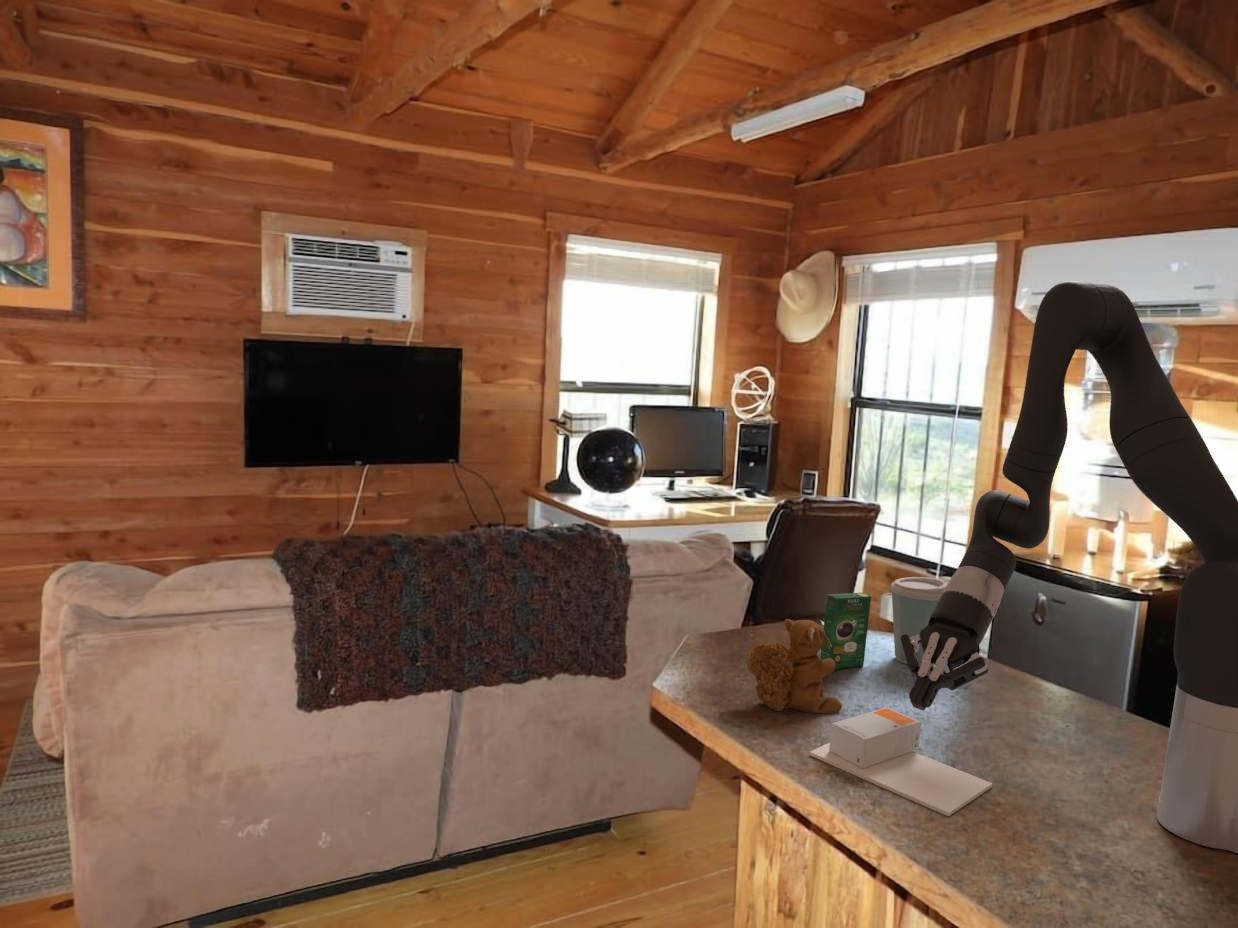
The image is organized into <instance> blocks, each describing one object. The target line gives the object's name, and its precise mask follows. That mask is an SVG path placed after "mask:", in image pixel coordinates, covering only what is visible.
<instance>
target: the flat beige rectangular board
mask: <svg viewBox="0 0 1238 928" xmlns="http://www.w3.org/2000/svg"><path fill="white" fill-rule="evenodd" d="M829 746H830V742H827V743H825V744H823V745H821V746H819V747H817V748H815V749H812V750H811V751H809V756H810V757H813V758H814V759H818V760H820V761H822V762H824V763H827V764H828V765H830V766H834V767H835V768H838V769H839V770H842V771H845V772H847V773H848V774H851V775H854V776H855V777H858V778H860V779H863V780H864V781H867V782H869V783H872V784H874V785H876V786H878V787H880V788H883V789H886V790H888V791H889V792H892V793H894V794H896V795H899V796H901V797H903V798H906V799H908V800H910V801H912V802H915V803H917V804H919V805H922V806H923V807H926V808H928V809H930V810H932V811H935V812H936V813H940V814H942V815H944V816H946V817H950V816H951V815H953V814H955V813H956V812H957V811H959V810H961V809H962V808H963V807H965V806H966V805H968V804H969V803H971V802H972V801H974V800H975V799H977V798H978V797H980V796H981V795H983V794H984V793H986V792H987V791H989V790H990V789H992V788H993V783H992V782H990V781H987V780H985V779H983V778H980V777H979V776H975V775H973V774H970V773H967V772H965V771H962V770H959V769H957V768H954V767H953V766H949V765H947V764H946V763H942V762H940V761H938V760H935V759H933V758H930V757H927V756H926V755H923V754H921V753H917V752H915V751H913V752H910V753H907V754H904V755H901V756H898V757H895V758H892V759H889V760H886V761H884V762H881V763H878V764H875V765H872V766H869V767H866V768H861V767H859V766H857V765H855V764H853V763H851V762H849V761H846V760H844V759H843V758H841V757H840V756H838V755H836V754H834V753H832V752H830V751H829Z"/></svg>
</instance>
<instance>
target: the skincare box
mask: <svg viewBox="0 0 1238 928" xmlns="http://www.w3.org/2000/svg"><path fill="white" fill-rule="evenodd" d="M921 727H922V722H921V721H919V720H918V719H915V718H912V717H911V716H908V715H906V714H903V713H901V712H898V711H897V710H895V709H893V708H890V707H888V706H887V707H884V708H880V709H876V710H873V711H870V712H866V713H862V714H858V715H856V716H852V717H848V718H846V719H842V720H839V721H836V722H835V721H834V722H832V723H831V728H830V737H829V738H830V739H829V743H830V746H829V751H830V752H832V753H834V754H836V755H838V756H840V757H841V758H843V759H844V760H846V761H849V762H851V763H853V764H855V765H857V766H859V767H861V768H866V767H869V766H872V765H875V764H878V763H881V762H884V761H886V760H889V759H892V758H895V757H898V756H901V755H904V754H907V753H910V752H915V751H919V750H920V749H919V747H920V740H921V739H920V737H921V729H922V728H921Z"/></svg>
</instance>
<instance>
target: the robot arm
mask: <svg viewBox="0 0 1238 928" xmlns="http://www.w3.org/2000/svg"><path fill="white" fill-rule="evenodd" d="M1032 332H1033V333H1032V339H1031V345H1030V346H1031V347H1030V351H1029V359H1028V365H1027V371H1026V378H1025V385H1024V391H1023V396H1022V402H1021V408H1020V411H1019V415H1018V418H1017V423H1016V425H1015V428H1014V432H1013V435H1012V437H1011V441H1010V443H1009V445H1008V446H1009V447H1008V450H1007V453H1006V455H1005V458H1004V461H1003V464H1002V469H1001V471H1002V472H1001V473H1002V475H1003V476H1004V478H1005V479H1007V480H1008V481H1009V482H1011V483H1013V484H1014V485H1016V486H1017V487H1018V488H1021V489H1022V491H1024V492H1025V493H1026V495H1027V497H1028V499H1025V498H1023V497H1020V496H1017V495H1015V494H1011V493H1008V492H1005V491H1002V490H999V489H994V490H988V491H986V492H985V493H984V494H983V495H981V496H980V497H979V498H978V501H977V503H976V506H975V510H974V516H973V526H972V532H971V537H970V541H969V544H968V547H967V549H966V551H965V553H964V555H963V557H962V559H961V560H960V563H959V565H958V567H957V569H956V570H955V572H954V574H953V575H952V576H951V577H950V579H948V581H947V583H948V584H947V586H946V588H945V590H944V592H943V593H942V595H941V597H940V599H939V601H938V603H937V605H936V607H935V609H934V611H933V613H932V615H931V617H930V620H929V623H928V625H927V626H926V627H924V628H923V629H922V630H921V631H920V634H919V635H915V636H912V637H909V636H908V635H906V634H905V635H902V636H901V642H902V646H903V649H904V653H905V657H906V660H907V664H906V665H907V666H908V669H909V671H910V673H911V675H912V676H913V678H914V679H916V680H915V681H914V683H913V685H912V687H911V689H910V691H909V693H908V698H909V699H910V704H911V705H912V707H913V708H914V709H915V708H916V709H917V710H921V711H925V710H926V709H927V708H928V709H929V708H930V707H931V706H932V705H933V702H934V700H935V699H936V696H937V695H938V693H939V690H942V689H948V690H951V691H955V690H957V689H958V688H960V687H963V686H964V685H966V684H968V683H970V682H972V681H974V680H977V679H979V677H980V678H981V677H982V676H984V675H986V674H987V673H988V672H989V667H988V665H987V662H986V661H985V658H984V657H982V656H980V652H981V649H980V644H982V642H983V640H984V638H985V635H986V634H987V632H988V629H989V627H990V625H991V623H992V621H993V619H994V617H995V616H996V615H997V612H998V608H999V607H1000V604H1001V601H1002V598H1003V594H1004V593H1005V590H1006V588H1007V586H1008V584H1009V581H1010V580H1011V577H1012V576H1013V574H1014V571H1015V570H1016V566H1017V557H1016V555H1015V554H1014V553H1013V551H1012V550H1011V549H1010V548H1009V547H1007V546H1006V545H1004V544H1003V543H1001V542H1000V541H998V540H1001V541H1004V542H1007V543H1009V544H1012V545H1014V546H1016V547H1019V548H1023V549H1027V550H1029V549H1033V548H1036V547H1038V546H1039V545H1041V544H1042V543H1043V542H1044V541H1045V539H1046V538H1047V536H1048V532H1049V528H1050V519H1051V517H1050V515H1051V512H1050V511H1051V508H1050V507H1051V505H1050V504H1051V491H1052V485H1053V481H1054V477H1055V474H1056V471H1057V469H1058V466H1059V463H1060V460H1061V458H1062V454H1063V452H1064V449H1065V445H1066V441H1067V437H1068V414H1067V409H1066V408H1067V407H1066V400H1065V399H1066V398H1065V383H1066V376H1067V372H1068V368H1069V366H1070V364H1071V362H1072V360H1073V358H1074V357H1073V356H1074V355H1075V353H1076V351H1078V350H1080V351H1087V352H1089V354H1091V356H1092V357H1093V359H1094V360H1095V361H1096V363H1097V365H1098V366H1099V368H1100V370H1101V372H1102V373H1103V375H1104V377H1105V379H1106V381H1107V383H1108V387H1109V391H1110V392H1109V393H1110V406H1109V407H1110V409H1109V433H1110V439H1111V442H1112V444H1113V447H1114V448H1115V450H1116V452H1117V455H1118V457H1119V458H1120V460H1121V462H1122V464H1123V467H1124V468H1125V470H1126V472H1127V474H1128V476H1129V477H1130V479H1131V481H1132V482H1133V483H1134V485H1135V486H1136V487H1137V488H1138V490H1139V491H1140V492H1141V493H1142V494H1143V495H1144V496H1145V497H1147V499H1148V500H1149V501H1150V502H1152V503H1153V504H1154V505H1155V506H1156V507H1157V508H1158V509H1159V510H1160V511H1162V512H1163V513H1164V515H1166V516H1167V518H1169V519H1170V520H1171V521H1173V522H1174V523H1175V524H1176V525H1177V526H1178V527H1179V528H1180V529H1181V530H1182V531H1183V532H1184V534H1185V535H1186V536H1187V537H1188V538H1189V539H1190V540H1191V542H1192V544H1193V545H1194V546H1195V549H1197V551H1198V553H1199V555H1200V557H1201V558H1202V560H1203V562H1204V563H1202V564H1200V565H1198V566H1197V567H1195V568H1194V569H1192V570H1191V571H1190V572H1189V573H1188V574H1187V576H1186V577H1185V579H1184V580H1183V582H1182V585H1181V587H1180V592H1179V596H1178V601H1177V609H1176V619H1175V628H1174V629H1175V630H1174V631H1175V632H1174V639H1173V640H1174V642H1173V659H1174V660H1173V661H1174V664H1175V666H1176V669H1177V680H1176V687H1175V695H1174V701H1173V707H1172V714H1171V720H1170V727H1169V733H1168V740H1167V745H1166V754H1165V760H1164V765H1163V772H1162V779H1161V780H1162V781H1161V787H1160V792H1159V797H1158V803H1157V804H1158V805H1157V813H1156V816H1157V817H1156V818H1157V820H1158V822H1159V823H1160V824H1161V826H1162V827H1164V828H1165V829H1166V830H1168V831H1169V832H1170V833H1172V834H1174V835H1176V836H1178V837H1180V838H1182V839H1183V840H1186V841H1188V842H1191V843H1193V844H1194V843H1195V844H1197V845H1201V846H1203V847H1207V848H1213V849H1219V850H1225V851H1230V852H1232V853H1235V854H1238V499H1237V497H1236V495H1235V493H1234V491H1233V490H1232V488H1231V486H1230V484H1229V483H1228V481H1227V480H1226V479H1227V478H1225V476H1224V474H1223V473H1222V472H1221V469H1220V468H1219V466H1218V465H1217V462H1215V460H1214V458H1213V456H1212V454H1211V452H1210V450H1209V448H1208V446H1207V444H1206V442H1205V440H1204V439H1203V436H1202V435H1201V433H1200V431H1199V430H1198V428H1197V426H1196V424H1195V423H1194V421H1193V420H1192V418H1191V416H1190V415H1189V413H1188V412H1187V409H1185V407H1184V405H1183V404H1182V403H1181V400H1180V398H1179V397H1178V395H1177V393H1176V391H1175V389H1174V388H1173V386H1172V384H1171V382H1170V380H1169V379H1168V377H1167V375H1166V373H1165V371H1164V369H1163V368H1162V366H1161V364H1160V363H1159V361H1158V359H1157V357H1156V355H1155V353H1154V351H1153V349H1152V346H1151V344H1150V340H1149V339H1148V337H1147V334H1146V332H1145V329H1144V326H1143V324H1142V322H1141V319H1140V316H1139V315H1138V313H1137V310H1136V308H1135V306H1134V305H1133V302H1132V300H1131V298H1129V296H1128V295H1127V294H1126V293H1125V292H1124V291H1123V290H1121V289H1120V288H1118V287H1117V286H1114V285H1110V284H1105V283H1097V282H1096V283H1095V282H1085V281H1077V280H1072V281H1071V280H1069V281H1063V282H1059V283H1057V284H1055V285H1053V286H1052V287H1051V288H1050V289H1049V290H1048V291H1047V292H1046V293H1045V295H1044V296H1043V297H1042V300H1041V302H1040V304H1039V307H1038V309H1037V313H1036V317H1035V321H1034V328H1033V331H1032ZM995 538H996V539H995ZM920 644H922V648H923V652H924V655H923V658H922V664H921V666H919V663H918V660H917V656H916V653H915V652H918V650H919V645H920Z"/></svg>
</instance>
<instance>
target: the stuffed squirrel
mask: <svg viewBox="0 0 1238 928" xmlns="http://www.w3.org/2000/svg"><path fill="white" fill-rule="evenodd" d="M784 627H785V629H786V631H787V632H788V636H789V647H790V648H789V649H787V648H786V646H785V645H783V644H782V643H780V642H775V641H772V642H771V643H769V644H767V643H761V644H758V643H757V644H755V645H754V646H753V647H752V649H750V650H749V651H745V652H744V653H745V655H746V656H747V657H749V658H748V659H746V661H745V663H747V664H746V667H747V669H748V670H749V672H750V673H751V674H753V675H754V676H755V680H756V683H757V685H756V686H755V690H756V695H757V697H758V699H759V700H761V702H763V704H764V705H765V706H767V707H768V708H769V709H772V710H774V711H775V712H782V711H784V709H793V710H796V711H801V712H804V713H805V712H806V713H812V714H829V713H836V712H840V711H841V710H842V707H843V704H842V702H841V701H840V700H839V699H838V698H836V697H830V696H828V697H827V696H826V697H825V696H824V693H823V692H824V688H823V687H824V683H823V679H822V678H823V677H826V676H828V675H830V674H832V673H833V672H834V671H835V662H834V661H833V660H832V659H831V658H828V659H824V660H821V659H820V657H819V655H818V652H819V651H821V648H822V647H823V646H824V645H825V639H826V642H827V644H828V647H829V649H830V646H831V647H832V645H831V643H830V641H829V639H828V638H827V636H826V635H825V631H824V627H822V626H821V625H820V624H818V623H817V622H815V621H813V620H810V619H799V620H796V621H793V620H792V619H790V618H789V619H788V618H786V619H785V620H784ZM827 639H828V640H827ZM828 641H829V643H830V646H829V643H828Z"/></svg>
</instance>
